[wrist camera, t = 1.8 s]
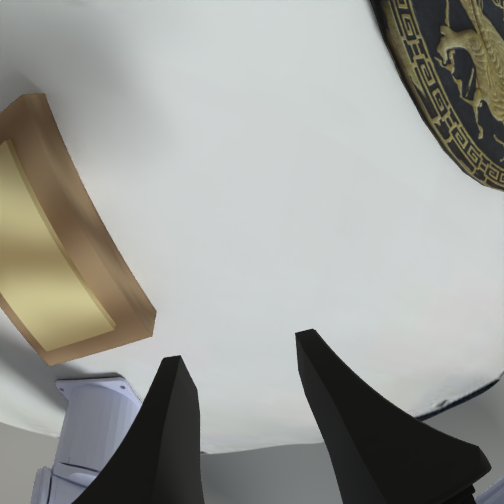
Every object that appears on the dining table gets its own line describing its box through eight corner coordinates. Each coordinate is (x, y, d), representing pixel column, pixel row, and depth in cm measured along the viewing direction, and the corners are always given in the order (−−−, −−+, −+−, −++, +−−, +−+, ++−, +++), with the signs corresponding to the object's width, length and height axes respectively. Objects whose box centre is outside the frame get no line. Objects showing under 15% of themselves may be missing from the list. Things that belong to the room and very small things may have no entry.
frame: (157, 307, 20) (151, 341, 17) (60, 340, 21) (47, 370, 18) (48, 93, 13) (17, 94, 10) (-41, 173, 13) (-70, 188, 10)
